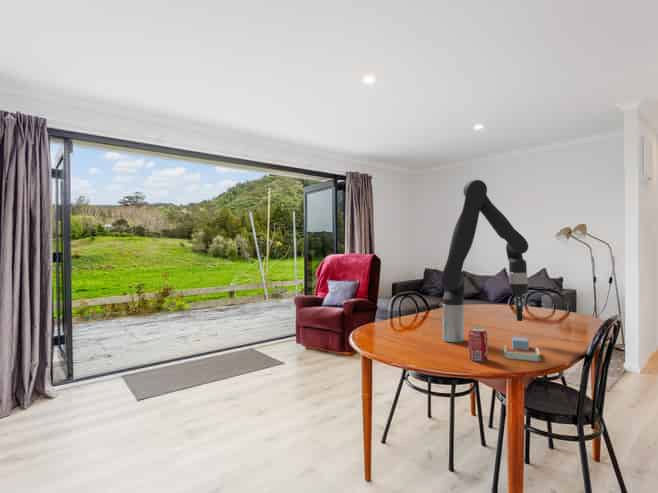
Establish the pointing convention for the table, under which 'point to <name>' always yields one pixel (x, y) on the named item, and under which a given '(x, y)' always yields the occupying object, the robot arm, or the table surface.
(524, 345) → the pale blue cube
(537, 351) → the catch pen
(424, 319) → the table surface
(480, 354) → the soda can
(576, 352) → the table surface
